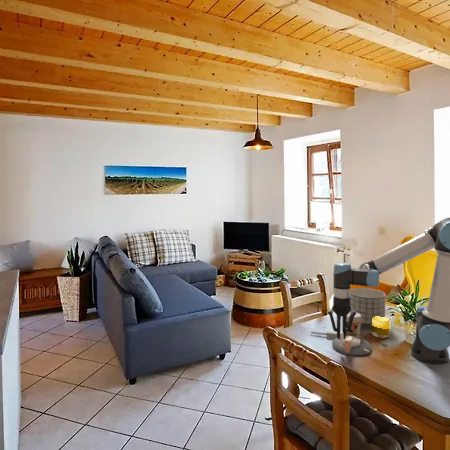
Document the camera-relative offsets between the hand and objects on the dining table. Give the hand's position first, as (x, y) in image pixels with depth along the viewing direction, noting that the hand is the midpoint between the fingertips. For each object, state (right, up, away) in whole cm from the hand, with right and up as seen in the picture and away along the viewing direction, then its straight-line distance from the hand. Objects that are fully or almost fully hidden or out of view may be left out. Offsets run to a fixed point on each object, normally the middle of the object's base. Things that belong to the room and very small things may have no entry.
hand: (341, 345), depth 166 cm
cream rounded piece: (+6, -2, +4) cm, 7 cm away
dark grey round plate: (+7, -3, +7) cm, 11 cm away
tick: (+12, -2, 0) cm, 12 cm away
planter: (+27, 0, +37) cm, 46 cm away
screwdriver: (-1, -2, +20) cm, 20 cm away
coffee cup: (+12, -2, +20) cm, 23 cm away
